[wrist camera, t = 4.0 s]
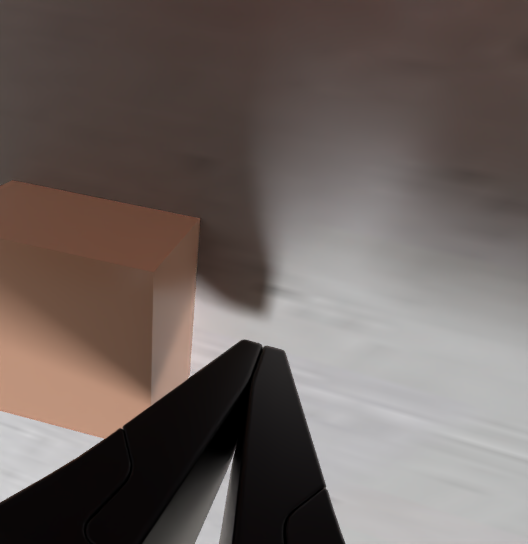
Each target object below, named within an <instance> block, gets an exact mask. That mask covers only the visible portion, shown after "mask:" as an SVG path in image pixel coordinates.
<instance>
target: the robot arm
mask: <svg viewBox="0 0 528 544" xmlns="http://www.w3.org/2000/svg"><path fill="white" fill-rule="evenodd" d="M234 451H235V453H234ZM233 454H234V457H233ZM232 457H233V463H232V468H231V473H230V480H229V486H228V492H227V498H226V504H225V510H224V516H223V523H222V529H221V535H220V541H219V544H345V541H344V539H343V536H342V533H341V530H340V527H339V524H338V521H337V518H336V515H335V513H334V510H333V506H332V503H331V500H330V497H329V493H328V490H327V489H326V484H325V481H324V478H323V474H322V471H321V468H320V464H319V461H318V458H317V455H316V451H315V448H314V445H313V442H312V438H311V435H310V432H309V428H308V425H307V422H306V419H305V415H304V412H303V409H302V406H301V402H300V399H299V396H298V392H297V389H296V386H295V383H294V379H293V376H292V373H291V369H290V366H289V363H288V360H287V356H286V353H285V351H284V350H281V349H278V348H274V347H270V346H264V347H262V345H261V344H259V343H256V342H252V341H249V340H241V341H239V342H238V343H237V344H235V345H234V346H233V347H231V348H230V349H228V350H227V351H226V352H224V353H223V354H221V355H220V356H219V357H217V358H216V359H215V360H213V361H212V362H210V363H209V364H208V365H206V366H205V367H204V368H202V369H201V370H199V371H198V372H197V373H195V374H194V375H193V376H191V377H190V378H188V379H187V380H186V381H184V382H183V383H181V384H180V385H179V386H177V387H176V388H175V389H173V390H172V391H170V392H169V393H168V394H166V395H165V396H164V397H162V398H161V399H159V400H158V401H157V402H155V403H154V404H153V405H151V406H150V407H148V408H147V409H146V410H144V411H143V412H141V413H140V414H139V415H137V416H136V417H135V418H133V419H132V420H130V421H129V422H128V423H126V424H125V425H124V426H123V427H122V428H119V429H118V430H116V431H115V432H114V433H112V434H111V435H109V436H108V437H107V438H105V439H104V440H102V441H101V442H100V443H98V444H97V445H95V446H94V447H92V448H91V449H89V450H88V451H86V452H85V453H83V454H82V455H80V456H79V457H77V458H76V459H74V460H72V461H71V462H69V463H67V464H66V465H64V466H63V467H61V468H59V469H58V470H56V471H54V472H53V473H51V474H49V475H48V476H46V477H44V478H42V479H41V480H39V481H37V482H35V483H34V484H32V485H30V486H28V487H27V488H25V489H23V490H21V491H20V492H18V493H16V494H14V495H13V496H11V497H9V498H7V499H6V500H4V501H2V502H0V544H195V542H196V540H197V537H198V535H199V533H200V530H201V528H202V526H203V524H204V521H205V519H206V517H207V515H208V512H209V510H210V508H211V506H212V503H213V501H214V499H215V496H216V494H217V492H218V490H219V487H220V485H221V483H222V481H223V478H224V476H225V474H226V472H227V469H228V467H229V464H230V462H231V459H232Z"/></svg>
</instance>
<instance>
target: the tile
mask: <svg viewBox="0 0 528 544" xmlns="http://www.w3.org/2000/svg"><path fill="white" fill-rule="evenodd" d="M199 231H200V218H196V217H191V216H186V215H181V214H176V213H171V212H167V211H162V210H157V209H152V208H147V207H142V206H137V205H132V204H127V203H122V202H117V201H113V200H108V199H103V198H98V197H93V196H88V195H83V194H78V193H73V192H68V191H63V190H58V189H54V188H49V187H44V186H39V185H34V184H29V183H24V182H19V181H14V180H12V181H10V182H8V183H5V184H3V185H1V186H0V411H3V412H7V413H11V414H15V415H18V416H22V417H26V418H30V419H33V420H37V421H41V422H45V423H48V424H52V425H56V426H60V427H63V428H67V429H71V430H75V431H78V432H82V433H86V434H89V435H93V436H97V437H101V438H104V439H105V438H107V437H108V436H109V435H111V434H112V433H114V432H115V431H116V430H118V429H119V428H122V427H123V426H124V425H125V424H126V423H128V422H129V421H130V420H132V419H133V418H135V417H136V416H137V415H139V414H140V413H141V412H143V411H144V410H146V409H147V408H148V407H150V406H151V405H153V404H154V403H155V402H157V401H158V400H159V399H161V398H162V397H164V396H165V395H166V394H168V393H169V392H170V391H172V390H173V389H175V388H176V387H177V386H179V385H180V384H181V383H183V382H184V381H186V380H187V379H188V377H189V375H190V362H191V348H192V333H193V319H194V304H195V289H196V275H197V260H198V246H199Z"/></svg>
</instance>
